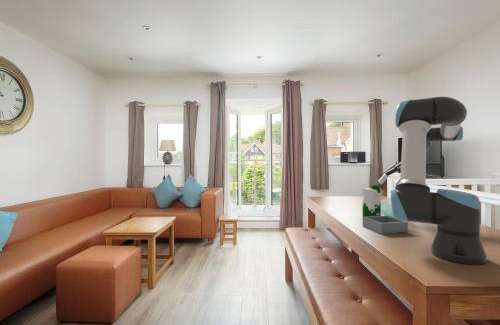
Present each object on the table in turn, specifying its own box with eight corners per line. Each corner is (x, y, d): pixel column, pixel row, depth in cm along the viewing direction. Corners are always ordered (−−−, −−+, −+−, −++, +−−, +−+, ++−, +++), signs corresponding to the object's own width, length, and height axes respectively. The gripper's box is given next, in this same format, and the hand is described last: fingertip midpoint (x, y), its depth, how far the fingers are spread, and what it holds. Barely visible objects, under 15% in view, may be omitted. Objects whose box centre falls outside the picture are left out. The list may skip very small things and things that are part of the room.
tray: (407, 232, 119) (407, 222, 119) (381, 234, 117) (381, 223, 117) (386, 225, 133) (386, 215, 133) (362, 226, 131) (362, 216, 131)
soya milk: (376, 223, 138) (376, 186, 137) (359, 220, 145) (360, 185, 144) (383, 220, 143) (383, 185, 143) (367, 217, 150) (367, 184, 150)
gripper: (433, 162, 136) (408, 191, 134) (398, 162, 161) (377, 186, 159) (424, 152, 136) (400, 181, 133) (391, 153, 160) (369, 177, 158)
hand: (387, 184), depth 146 cm, fingers open, 13 cm apart
